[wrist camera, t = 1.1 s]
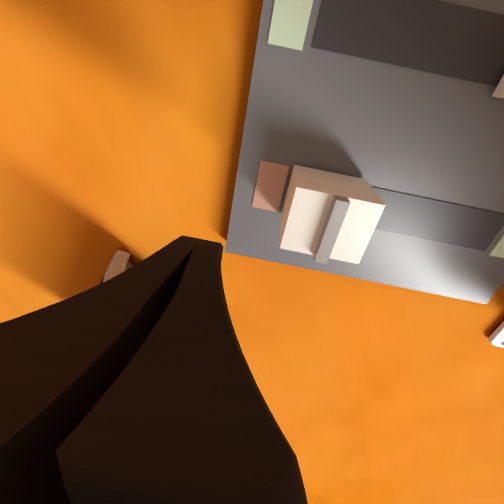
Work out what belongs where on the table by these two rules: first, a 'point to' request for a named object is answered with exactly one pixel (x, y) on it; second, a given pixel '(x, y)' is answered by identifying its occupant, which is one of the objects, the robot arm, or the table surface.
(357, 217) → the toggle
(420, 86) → the switch panel
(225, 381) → the robot arm
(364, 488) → the table surface
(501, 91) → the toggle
